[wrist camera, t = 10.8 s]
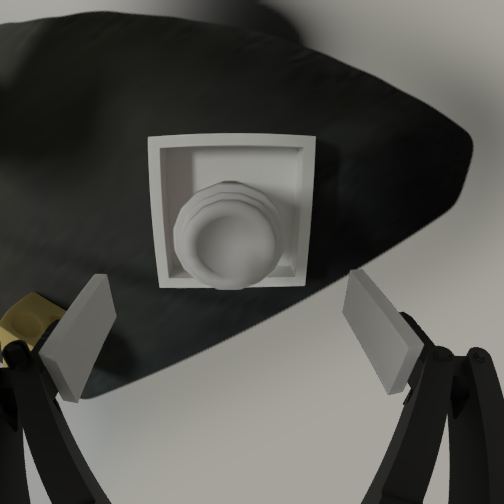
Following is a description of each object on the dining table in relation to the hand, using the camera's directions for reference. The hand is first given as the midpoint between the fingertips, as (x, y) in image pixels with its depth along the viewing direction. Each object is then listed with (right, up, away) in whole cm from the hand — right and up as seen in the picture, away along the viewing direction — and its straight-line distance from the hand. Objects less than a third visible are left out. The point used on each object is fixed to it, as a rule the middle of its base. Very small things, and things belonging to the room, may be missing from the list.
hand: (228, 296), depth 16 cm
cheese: (-30, -9, +23) cm, 40 cm away
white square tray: (-1, +7, +18) cm, 20 cm away
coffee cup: (-1, +7, +18) cm, 19 cm away
